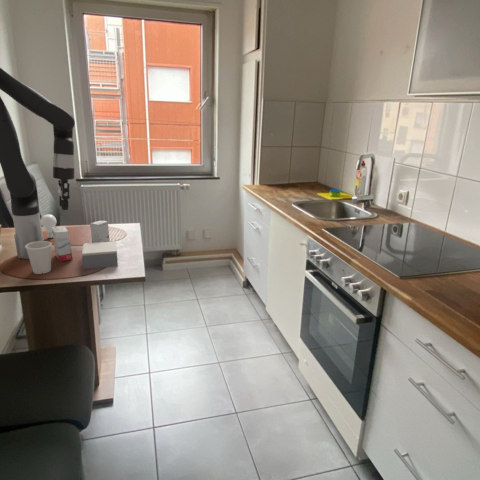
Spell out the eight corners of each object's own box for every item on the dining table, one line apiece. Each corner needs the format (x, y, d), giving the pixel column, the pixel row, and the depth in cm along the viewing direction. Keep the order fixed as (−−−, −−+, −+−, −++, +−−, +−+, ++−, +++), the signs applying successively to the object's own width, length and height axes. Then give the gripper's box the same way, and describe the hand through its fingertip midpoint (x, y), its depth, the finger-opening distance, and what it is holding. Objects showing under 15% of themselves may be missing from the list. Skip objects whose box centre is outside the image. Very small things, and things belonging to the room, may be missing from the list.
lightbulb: (39, 239, 170) (36, 215, 167) (50, 235, 176) (47, 212, 172) (51, 240, 168) (47, 216, 165) (61, 236, 174) (58, 213, 171)
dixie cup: (35, 266, 140) (31, 240, 137) (58, 266, 141) (55, 240, 138) (24, 275, 132) (20, 248, 129) (49, 275, 133) (45, 248, 130)
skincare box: (100, 253, 156) (97, 224, 152) (92, 251, 157) (89, 223, 153) (110, 248, 161) (108, 221, 157) (102, 247, 163) (100, 219, 159)
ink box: (72, 260, 147) (69, 231, 144) (58, 262, 145) (54, 232, 141) (68, 253, 154) (65, 225, 150) (54, 255, 151) (51, 227, 148)
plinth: (83, 269, 139) (81, 253, 137) (85, 257, 150) (83, 243, 148) (117, 266, 143) (116, 251, 141) (117, 255, 154) (115, 241, 152)
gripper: (51, 164, 150) (51, 205, 153) (54, 166, 138) (54, 210, 141) (71, 165, 154) (71, 205, 157) (76, 168, 142) (76, 211, 145)
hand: (63, 208), depth 149 cm, fingers open, 8 cm apart
